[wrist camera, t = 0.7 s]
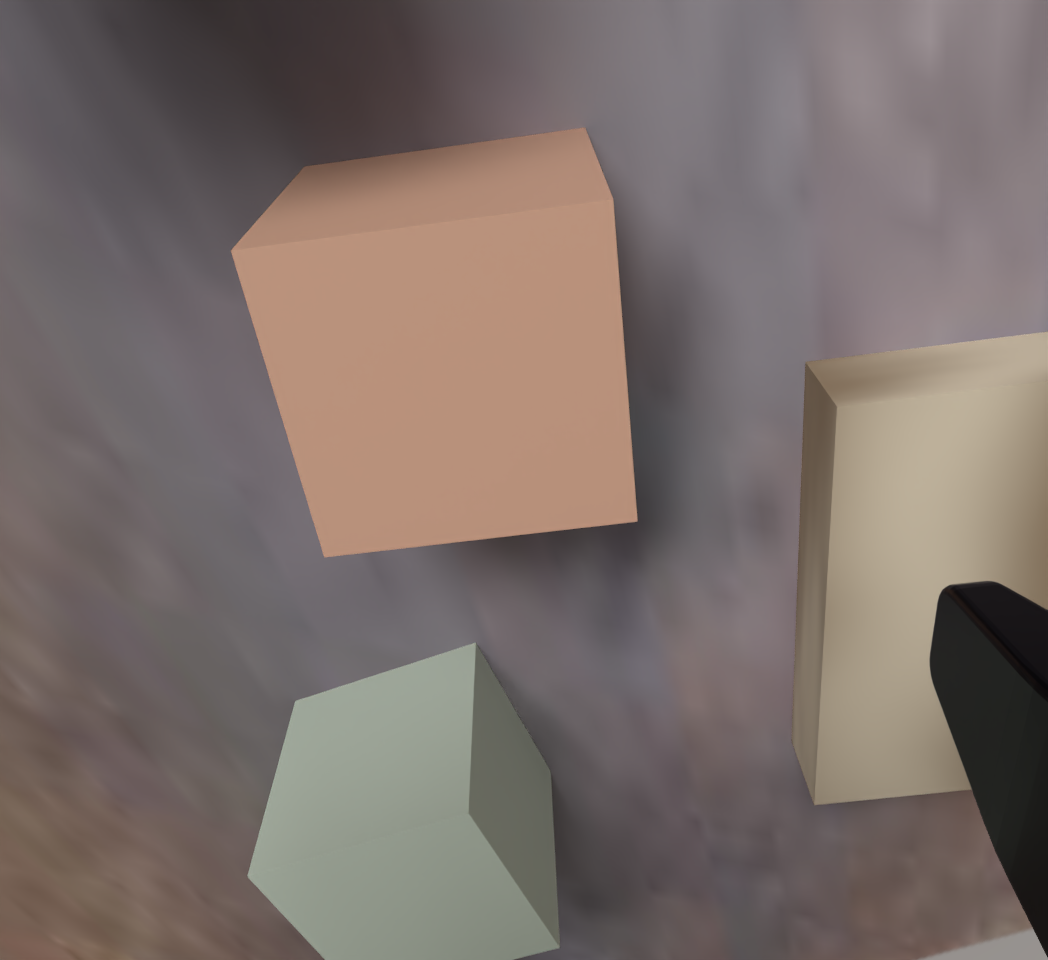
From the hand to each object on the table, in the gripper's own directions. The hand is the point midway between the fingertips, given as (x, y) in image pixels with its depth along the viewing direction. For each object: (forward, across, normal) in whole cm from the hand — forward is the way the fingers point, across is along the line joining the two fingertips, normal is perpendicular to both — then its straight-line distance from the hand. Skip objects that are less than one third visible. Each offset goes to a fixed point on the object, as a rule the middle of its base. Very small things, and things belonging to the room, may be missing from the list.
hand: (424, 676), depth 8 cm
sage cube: (+11, +3, +12) cm, 16 cm away
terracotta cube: (+11, 0, 0) cm, 11 cm away
